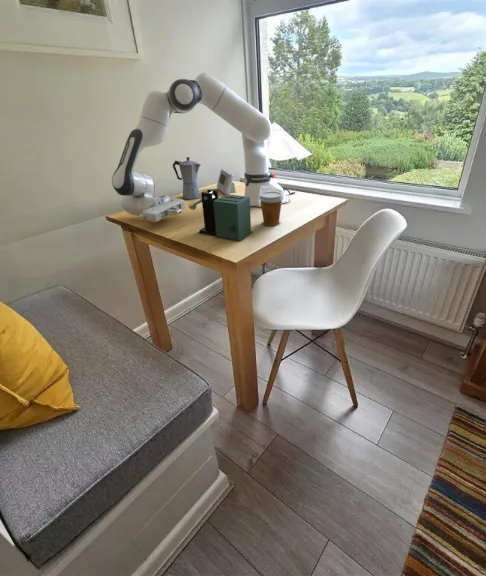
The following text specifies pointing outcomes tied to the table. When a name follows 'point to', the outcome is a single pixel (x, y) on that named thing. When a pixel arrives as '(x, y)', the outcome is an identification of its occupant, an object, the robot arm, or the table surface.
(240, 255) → the table surface
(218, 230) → the toaster
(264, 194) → the disposable coffee cup
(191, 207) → the lever
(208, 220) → the lever bracket
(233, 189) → the digital clock
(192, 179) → the moka pot
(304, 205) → the table surface
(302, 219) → the table surface
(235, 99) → the robot arm
